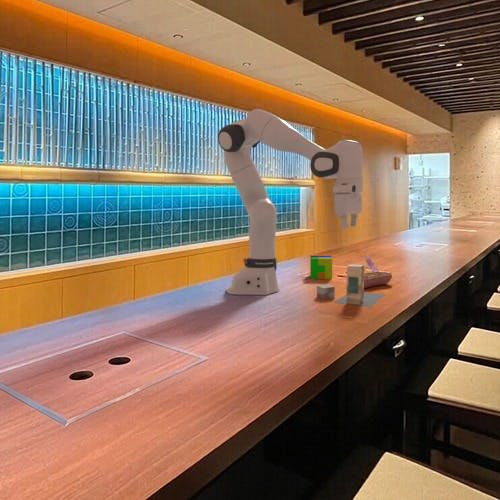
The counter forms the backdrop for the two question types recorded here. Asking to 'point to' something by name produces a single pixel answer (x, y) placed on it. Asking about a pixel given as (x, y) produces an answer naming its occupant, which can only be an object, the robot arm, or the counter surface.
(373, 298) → the slate mat
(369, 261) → the lily
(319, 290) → the grey block
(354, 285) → the maple block
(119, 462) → the counter surface
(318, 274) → the puzzle toy
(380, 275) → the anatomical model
